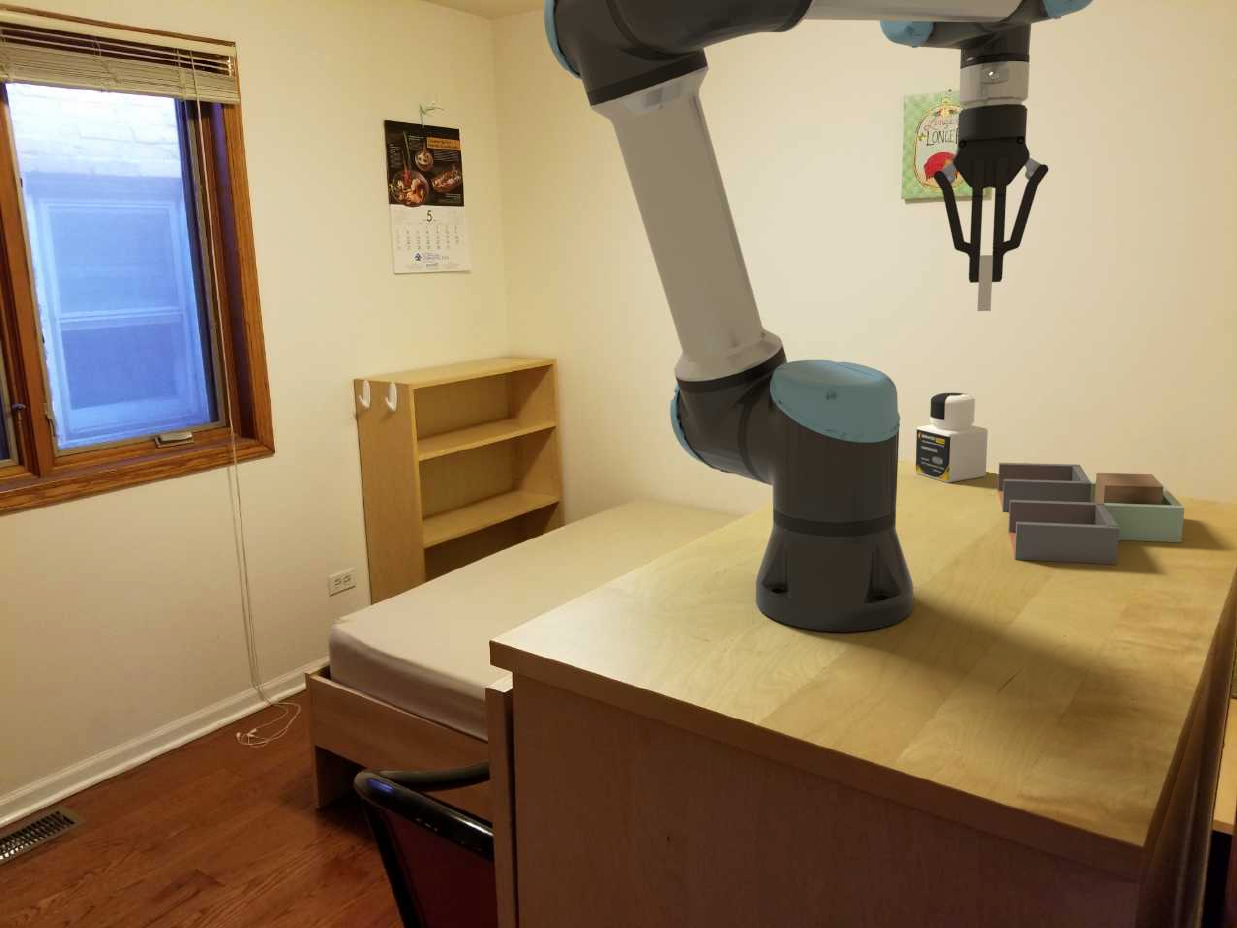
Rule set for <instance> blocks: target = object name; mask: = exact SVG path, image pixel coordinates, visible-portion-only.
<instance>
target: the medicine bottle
mask: <svg viewBox="0 0 1237 928" xmlns="http://www.w3.org/2000/svg"><path fill="white" fill-rule="evenodd" d="M975 404H976V399H975V397H974V396H972V395H970V394H968V393H963V392H942V393H937V394H935V395H933V396H932V397H931V399H930V411H929V412H930V416H929V420H930V421H929V422H930V423H931V424H926V425H919V426H917V427H916V440H915V441H916V444H915V473H916V474H918V475H921V476H925V477H927V478H931V479H935V480H936V481H937V480H938V481H941V482H945V483H948V484H949V483H955V482H960V481H966V480H971V479H972V480H973V479H977V478H983V477H986V475H987V456H988V454H987V453H988V433H989V432H988V431H989V430H988V428H986V427H981V426H975V425H972V424H974V423H975V408H976V407H975V406H976V405H975Z"/></svg>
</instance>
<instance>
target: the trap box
mask: <svg viewBox="0 0 1237 928" xmlns="http://www.w3.org/2000/svg"><path fill="white" fill-rule="evenodd" d="M1088 477H1089V476H1088V475H1087V474H1086V473H1085V471H1084V469H1083V468H1082V465H1081V464H1068V463H1030V462H1029V463H1028V462H1027V463H1025V462H998V479H997V493H998V496H999V501H1000V505H1001V509H1003V510H1002V512H1008V511H1009V512H1008V528H1007V529H1008V536H1009V540H1010V541H1009V542H1010V544H1011V548H1012V552H1013V556H1014V560H1021V561H1041V562H1055V563H1056V562H1058V563H1059V562H1060V563H1079V564H1094V565H1117V564H1118V553H1119V551H1118V550H1119V541H1140V542H1141V541H1142V542H1160V543H1182V541H1183V540H1182V538H1183V528H1184V527H1183V526H1184V516H1185V507H1184V506H1183V504H1182V503H1181V502H1180V501H1179V500H1178V499H1177V498H1176V497H1175V496H1174V495H1173V494H1172V492H1171V491H1170V490H1169V489H1168V488H1167V487H1166V485H1164V483H1163V482H1162V483H1161V482H1159V483H1160V484H1161V485H1162V486H1163V498H1162V505H1146V504H1117V503H1095V489H1096V481H1090V479H1089V478H1088Z"/></svg>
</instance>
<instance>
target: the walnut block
mask: <svg viewBox="0 0 1237 928" xmlns="http://www.w3.org/2000/svg"><path fill="white" fill-rule="evenodd" d="M1095 474H1096V476H1095V477H1096V479H1095V482H1096V489H1095V503H1117V504H1146V505H1162V498H1163V486H1162V485H1161V484H1160V483H1161V482H1160V481H1159V480H1158V479H1157V478H1156V477H1155V475H1153V474H1151V473H1118V472H1117V473H1116V472H1115V473H1114V472H1096V473H1095Z"/></svg>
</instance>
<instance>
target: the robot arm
mask: <svg viewBox="0 0 1237 928" xmlns="http://www.w3.org/2000/svg"><path fill="white" fill-rule="evenodd" d="M1092 2H1094V0H544V3H543V25H544V31H545V36H546V40H547V42H548V46H549V48H550V50H551V52H552V54H553V56H554V58H555V59H556V61H557V62H558V63H559V65H560V66H561V67H562V69H564V70H565V71H568V72H569V73H571V74H572V75H573V76H574V77H575V78H576V79H578V80H581V81H582V85H583V87H584V90H585V94H586V97H587V100H588V103H589V107H590V109H591V111H594V112H596V113H597V114H598V115H601V116H602V117H604V118H606V119H608V120H609V121H610V122H611V124H612V127H613V129H614V132H615V137H616V140H617V142H618V147H619V148H620V152H621V155H622V159H623V161H624V165H625V168H626V171H627V174H628V177H629V178H628V179H629V181H630V182H629V183H630V184H631V187H632V191H633V195H634V197H635V200H636V201H635V202H636V204H637V207H638V210H639V213H640V216H641V220H642V224H643V227H644V229H645V233H646V236H647V240H648V243H649V246H650V249H651V252H652V256H653V258H654V262H655V265H656V269H657V272H658V276H659V279H660V282H661V285H662V288H663V291H664V295H665V298H666V301H667V306H668V308H669V311H670V314H671V318H672V321H673V324H674V327H675V328H674V329H675V331H676V334H677V337H678V340H679V343H680V347H681V350H682V353H681V355H680V357H679V359H678V360H677V362H676V364H675V365H674V369H673V372H674V377H675V379H676V380H675V381H676V385H675V387H674V390H673V391H674V397H673V399H671V400H670V408H669V416H670V423H671V427H672V429H673V430H672V431H673V432H674V433H673V434H674V435H675V437H676V439H677V441H678V443H679V444H680V446H681V447H682V449H683V450H685V452H687V454H688V455H689V456H690V457H692V458H693V459H695V460H696V461H698V462H700V463H703V464H705V465H706V466H707V467H709V468H711V469H713V470H716V471H717V470H718V471H719V472H721V473H726V474H734V475H737V476H740V477H744V478H747V479H750V480H752V481H756V482H758V483H759V482H760V483H763V484H766V485H769V486H772V528H771V532H770V536H769V539H768V542H767V546H766V548H765V551H764V554H763V557H762V561H761V563H760V565H759V568H758V572H757V575H756V578H755V579H756V581H755V603H756V604H755V605H756V606H757V608H758V609H759V610H760V612H762V613H763V614H764V615H766V616H768V617H769V618H770V619H772V620H775V621H777V622H780V623H783V624H786V625H789V626H793V627H796V628H802V629H806V630H812V631H824V632H837V633H838V632H840V633H841V632H843V633H845V632H863V631H871V630H876V629H880V628H881V629H882V628H885V627H888V626H892V625H894V624H897V623H899V622H901V621H903V620H904V619H906V618H907V617H908V616H910V614H911V613H912V611H913V609H914V608H913V607H914V584H913V581H912V577H911V574H910V571H909V568H908V564H907V560H906V559H905V555H904V551H903V549H902V546H901V542H900V539H899V537H898V533H897V526H896V524H897V523H896V521H897V519H896V518H897V494H898V493H897V492H898V469H899V465H898V464H899V448H900V447H899V442H900V426H901V423H900V422H901V421H900V420H901V417H900V413H899V407H898V402H899V401H898V390H897V386H896V384H895V383H894V381H893V380H892V378H891V377H890V376H889V375H887V374H886V373H885V372H883V371H881V370H879V369H876V368H873V367H870V366H867V365H864V364H859V363H855V362H850V361H834V360H830V359H801V360H800V359H799V360H794V361H789V362H788V360H787V356H786V352H785V348H784V345H783V341H782V338H781V337H780V336H779V335H777V334H775V333H774V332H771V331H770V330H767V329H765V328H764V327H763V325H762V320H761V317H760V313H759V310H758V306H757V303H756V299H755V295H754V291H753V288H752V284H751V281H750V277H749V273H748V269H747V266H746V262H745V258H744V255H743V252H742V248H741V243H740V240H739V237H738V234H737V229H736V226H735V222H734V218H733V214H732V211H731V208H730V205H729V201H728V196H727V192H726V189H725V186H724V182H723V178H722V175H721V171H720V167H719V164H718V160H717V156H716V153H715V149H714V146H713V141H712V138H711V135H710V131H709V127H708V123H707V120H706V116H705V112H704V109H703V106H702V101H701V98H700V88H701V87H702V83H703V81H704V80H705V77H706V75H707V73H708V71H709V69H710V68H709V64H708V61H707V57H706V53H705V48H708V47H710V46H713V45H716V44H720V43H723V42H727V41H729V40H733V39H736V38H740V37H744V36H748V35H753V34H759V33H783V32H784V33H786V32H790V31H791V30H793V29H795V28H797V26H799V25H800V24H801V23H803V21H804V20H818V21H819V20H821V21H823V20H824V21H826V20H827V21H829V20H831V21H877V22H879V26H880V28H881V31H882V33H883V35H884V36H885V37H886V38H887V40H888V41H890V42H892V43H894V44H898V45H902V46H908V47H910V48H912V49H917V48H932V49H934V48H935V49H947V50H949V49H950V50H960V62H959V63H960V68H959V69H960V70H959V100H958V102H959V103H958V104H959V105H960V106H961V107H963V109H961V110H960V112H959V113H958V118H957V119H958V121H957V123H958V124H957V147H956V151H955V152H954V154H953V156H952V161H951V163H949V164H948V165H946V166H945V167H943V168H942V169H940V170H937V171H935V172H934V173H933V180H935V182H936V184H937V185H938V187H939V189H940V190H941V193H942V195H943V201H944V205H945V210H946V215H947V220H948V224H949V229H950V233H951V238H952V243H953V248H954V250H956V251H958V252H961V253H964V254H967V256H968V258H969V260H968V261H969V262H968V267H969V268H968V281H969V283H975V284H976V283H978V288H977V289H978V291H977V292H978V293H977V312H992V311H991V309H992V307H991V306H992V289H993V288H992V287H993V284H992V283H1001V282H1002V279H1003V270H1004V256H1005V254H1006V253H1008V252H1010V251H1013V250H1016V249H1018V248H1020V246H1021V243H1022V241H1023V240H1022V239H1023V237H1024V232H1025V230H1026V225H1027V224H1028V219H1029V217H1030V214H1031V209H1032V206H1033V205H1034V200H1035V196H1036V193H1037V190H1038V187H1039V185H1040V184H1041V182H1042V181H1043V179H1044V178H1045V177H1046V175H1047V174H1048V172H1049V166H1048V165H1047V164H1045V163H1043V164H1041V163H1040V162H1038V161H1037V160H1035V159H1033V158H1031V157H1030V155H1031V154H1030V150H1029V149H1028V146H1027V142H1026V141H1027V121H1028V108H1027V107H1026V105H1024V104H1023V102H1025V101H1026V100H1027V99H1028V98H1029V86H1030V85H1029V83H1030V58H1031V57H1030V46H1031V45H1030V44H1031V32H1032V24H1035V23H1036V24H1037V23H1040V22H1044V21H1048V20H1060V19H1061V18H1062V17H1065V16H1067V15H1071V14H1073V13H1078V12H1080V11H1082V10H1084V9H1085V8H1086V7H1088V6H1089V5H1090V4H1092ZM1024 167H1025V169H1026V171H1025V173H1024V177H1025V178H1026V180H1027V182H1026V186H1025V188H1024V190H1023V191H1024V192H1023V195H1022V198H1021V200H1020V204H1019V208H1018V211H1017V214H1016V217H1015V221H1014V224H1013V228H1012V231H1011V233H1010V234H1011V235H1010V238H1009V239H1008V240H1005V232H1006V230H1005V228H1006V207H1007V206H1006V205H1007V187H1008V186H1009V185H1010V184H1011V183H1012V182H1013V181H1014V180H1015V179H1016V177H1017V175H1018V174H1019V173H1020V172H1021V171H1022V169H1023V168H1024ZM956 171H957V172H958V173H959V175H960V176H961V178H962V179H963V180H964V182H965V183H966V184H967V186H968V187H969V188H971V189H972V190H971V211H970V212H971V215H970V237H969V238H970V239H969V242H967V241H965V237H964V233H963V228H962V224H961V221H960V220H961V219H960V215H959V211H958V205H957V201H956V196H955V192H954V188H953V186H952V184H953V183H954V182H955V181H956V176H955V173H956ZM988 188H993V189H994V205H993V206H994V207H993V231H992V233H993V234H992V254H990V255H989V254H987V255H986V254H985V255H983V254H982V255H981V249H982V248H981V246H982V245H981V243H982V242H981V241H982V223H983V222H982V221H983V202H984V201H983V200H984V198H983V197H984V189H988Z"/></svg>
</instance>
